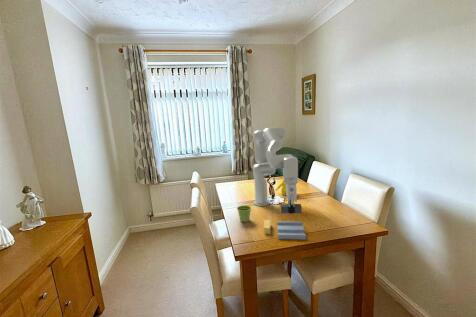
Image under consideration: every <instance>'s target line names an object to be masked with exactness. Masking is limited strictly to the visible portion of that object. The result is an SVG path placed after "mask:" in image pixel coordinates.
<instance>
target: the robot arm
mask: <svg viewBox="0 0 476 317" xmlns="http://www.w3.org/2000/svg"><path fill="white" fill-rule="evenodd" d="M252 135H253V141H254V145H255V146H254V147H255V148H254V150H255V151H254V160H255V162H256V164H254V165H253V166H252V172H253V173H252V174H253V181H254V199H255V200H253V205H255V206H258V207H264V206H268V205H270V203H271V202H270V200H268V181H267V179H266V178H265V176H272V175H275V173H276V170H279V169H283V170H282V171H283V172H282V174H283V173H284V174H283V178H284V183H285V184H286V195H285V196H286V200H287V204H289V206H288V213H287V214H288V215H289V214H291V215H292V214H296V213H295V207H294V204H295V202H296V203H297V202H298V195H297V194H298V193H297V184H298V183H299V161H298V160H299V159H298V158H297V157H296V156H294V155H293V154H290V153H289V154H277V151H279V150H281V149H282V147H283V144H284V143H283V141H282V140H285V139H286V136H287V133H286V129H285V128H284V127H283V126H272V127H266V128H265V129H259V130H255V131H254V132H253V134H252Z"/></svg>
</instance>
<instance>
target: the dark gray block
mask: <svg viewBox="0 0 476 317" xmlns="http://www.w3.org/2000/svg"><path fill="white" fill-rule="evenodd" d="M288 206H289V204H288V203H280V213H281V214H289V213H288ZM294 207H295V213H294V214H302V212H303V211H302V204H301V203H294Z"/></svg>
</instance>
